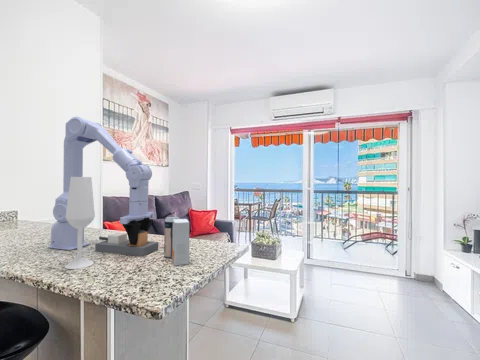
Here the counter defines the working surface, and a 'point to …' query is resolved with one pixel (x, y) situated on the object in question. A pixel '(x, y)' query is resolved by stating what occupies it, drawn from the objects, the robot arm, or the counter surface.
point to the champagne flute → (80, 214)
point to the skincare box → (180, 242)
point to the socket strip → (124, 246)
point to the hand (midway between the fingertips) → (138, 242)
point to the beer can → (168, 236)
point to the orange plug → (141, 238)
